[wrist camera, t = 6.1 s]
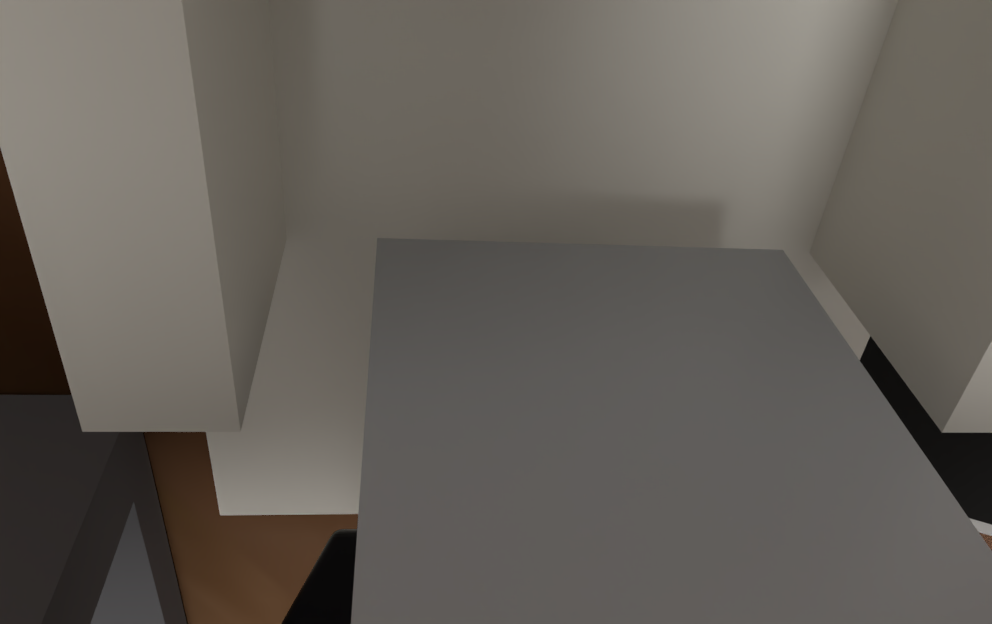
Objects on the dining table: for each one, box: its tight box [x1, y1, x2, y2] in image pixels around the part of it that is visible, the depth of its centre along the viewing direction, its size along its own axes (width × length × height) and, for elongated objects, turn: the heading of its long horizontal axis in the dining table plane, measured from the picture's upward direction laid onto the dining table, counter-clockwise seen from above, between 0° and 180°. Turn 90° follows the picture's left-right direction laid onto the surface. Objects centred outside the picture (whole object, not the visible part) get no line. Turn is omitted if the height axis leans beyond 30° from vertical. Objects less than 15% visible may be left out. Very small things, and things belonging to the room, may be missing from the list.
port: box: [0, 0, 992, 515], centre depth 8 cm, size 10×8×4 cm
